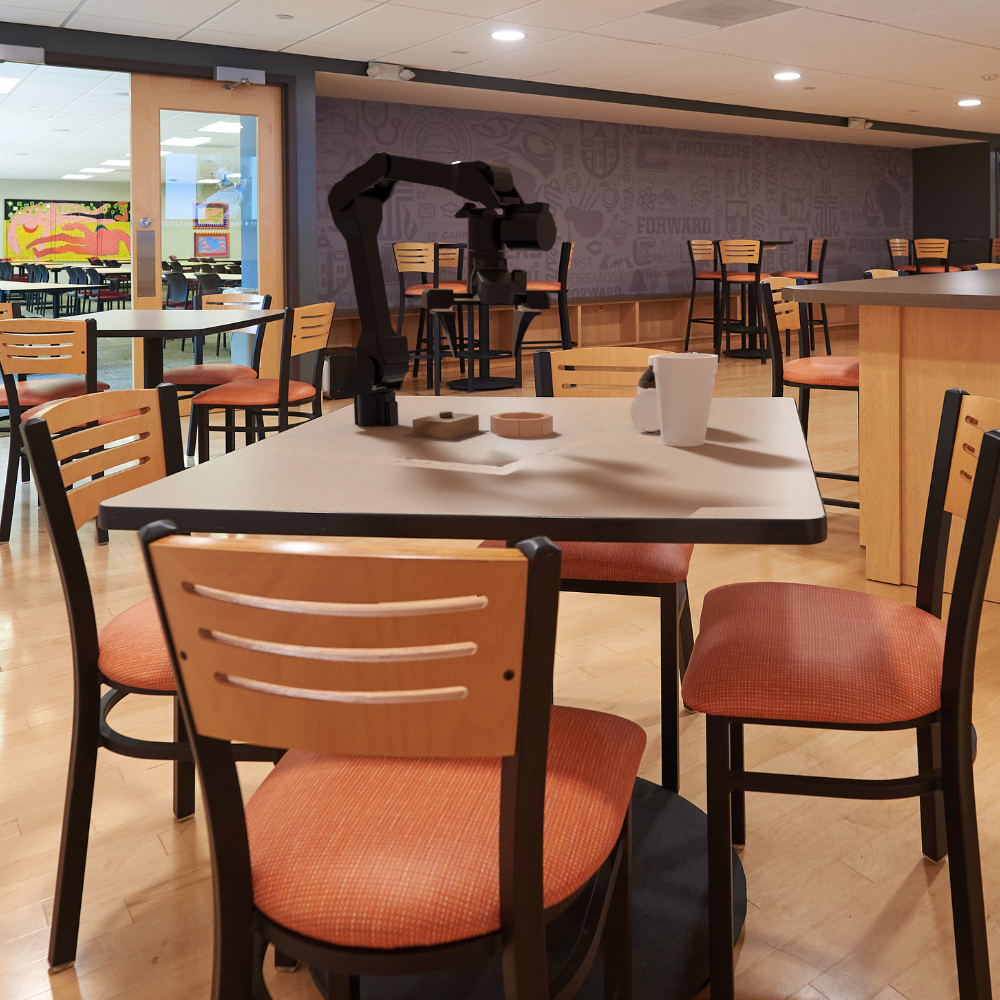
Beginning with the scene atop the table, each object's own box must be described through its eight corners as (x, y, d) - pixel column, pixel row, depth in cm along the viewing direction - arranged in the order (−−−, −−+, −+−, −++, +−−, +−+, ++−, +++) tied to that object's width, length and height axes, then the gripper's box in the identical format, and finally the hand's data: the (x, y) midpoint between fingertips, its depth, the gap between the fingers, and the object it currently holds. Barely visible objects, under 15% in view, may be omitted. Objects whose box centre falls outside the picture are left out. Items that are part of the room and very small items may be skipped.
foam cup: (714, 449, 142) (718, 358, 139) (650, 447, 144) (652, 358, 141) (714, 438, 151) (717, 353, 148) (653, 437, 153) (655, 352, 150)
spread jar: (692, 423, 167) (694, 354, 165) (708, 433, 156) (711, 359, 154) (622, 424, 167) (623, 355, 164) (633, 434, 156) (634, 360, 153)
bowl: (482, 440, 151) (482, 418, 151) (509, 432, 159) (508, 410, 158) (535, 444, 147) (535, 421, 146) (559, 435, 155) (559, 413, 154)
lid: (413, 436, 150) (412, 414, 149) (443, 428, 158) (442, 407, 157) (449, 439, 147) (449, 417, 146) (478, 430, 155) (478, 409, 154)
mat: (401, 442, 150) (401, 435, 150) (435, 433, 159) (435, 426, 159) (458, 446, 146) (458, 440, 146) (490, 437, 155) (490, 430, 154)
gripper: (434, 249, 135) (434, 363, 139) (563, 252, 140) (560, 362, 144) (420, 250, 146) (420, 356, 150) (541, 252, 150) (538, 355, 154)
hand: (485, 357), depth 149 cm, fingers open, 9 cm apart
